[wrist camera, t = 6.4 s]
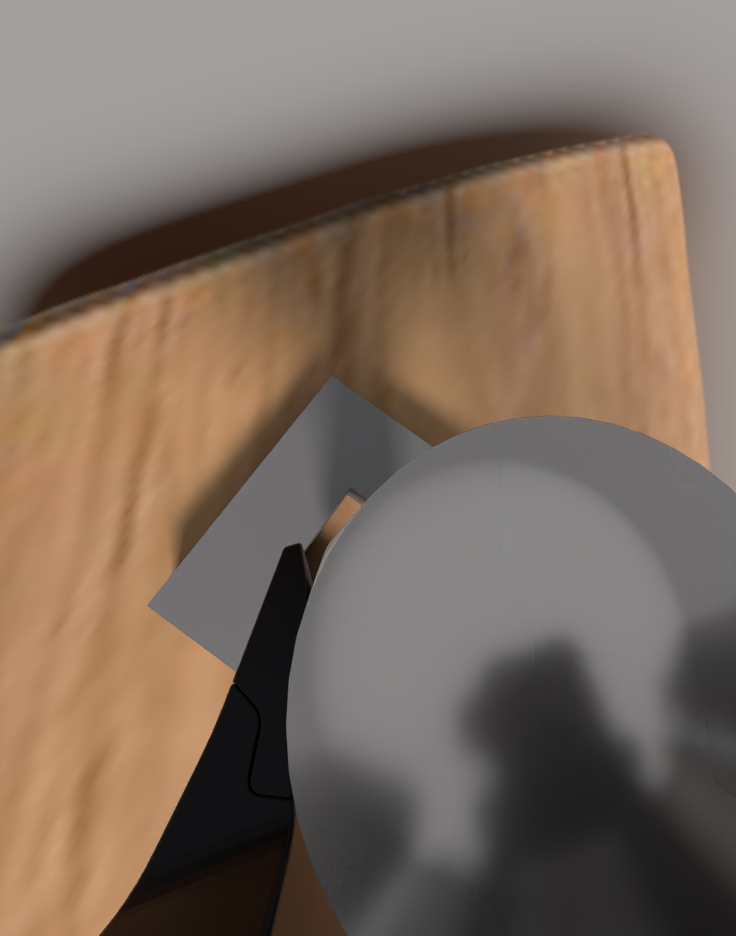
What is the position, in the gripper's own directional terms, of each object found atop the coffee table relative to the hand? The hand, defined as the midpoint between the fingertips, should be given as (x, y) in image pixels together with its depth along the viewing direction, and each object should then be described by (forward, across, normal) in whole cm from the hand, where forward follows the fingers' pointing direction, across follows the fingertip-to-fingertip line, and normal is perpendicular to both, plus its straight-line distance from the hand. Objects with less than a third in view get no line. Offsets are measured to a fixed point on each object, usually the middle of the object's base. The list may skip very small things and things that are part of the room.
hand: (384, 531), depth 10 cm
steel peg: (+4, 0, +6) cm, 7 cm away
